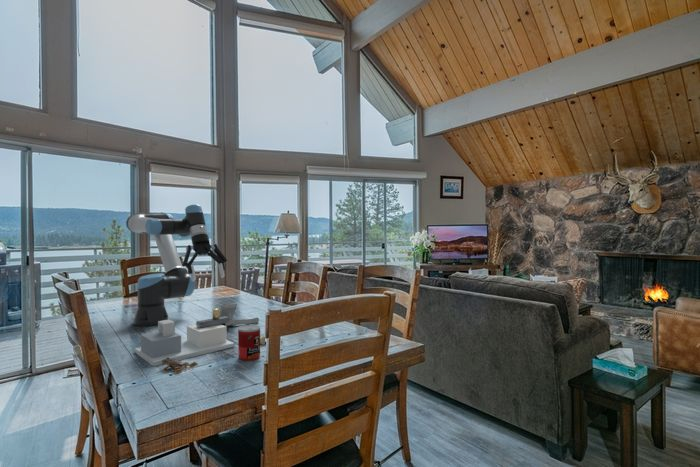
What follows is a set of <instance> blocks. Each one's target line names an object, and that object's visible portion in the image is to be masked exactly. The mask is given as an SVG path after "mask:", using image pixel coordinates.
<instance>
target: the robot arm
mask: <svg viewBox="0 0 700 467" xmlns="http://www.w3.org/2000/svg"><path fill="white" fill-rule="evenodd" d="M184 210H185V211H184V212H185V216H184V218H174V216H173V215H172V214H171V213H168V212H135V213H133V214H131V215H130V216H128V217H127V219H126V222H125V225H126V227H127V229H128V231H130V232H132V233H134V234H140V235H141V234H143V235H147V234H148V235H149V236H150V238H151V239H152V240H155V243H156V244H155V245H156V246H157V249H158V253H159V256H160V259H161V263H162V265H163V268H164V271H165V273H163V272H161V273H160V272H157V273H151V274H147V275H142V276H140V277H139V278H138V279H137V286H136V287H137V309H136V312H135V316H134V318H133V325H134V326H138V327H149V326H150V327H151V326H158V321H163V320H169V314H168V312H167V309H166V306H165V300H168V299H177V298H184V297H190V296H191V295H193V293H194V292H195V287H196V280H197V277H196V272H195V267H194V265H192V264H193V263H194V262H195V260H196V258H197V256H209V257H210V258H212V260H214V261H215V262H216V263H217V266H218V271H219V275H220V279H224V277H226V275H225V274H226V273H225V270H226V268H225V263H226V262H228V260H227V258H226V256H225V255H224V254H223V253H222V251H221V250H220V248H218V245H217V243H214V244H212V245H211V244H210V238H209V232H208V229H207V226H206V220H205V215H204V212H203V209H202V206H201V205H200V204H189V205H188V206H186V207H185V208H184ZM173 235H178V236H179V237H182V238H188V237H191V238H190V239H191V243H192V244H191V245H190V244H188V245H187V246H186V248H185V250H186V252H185V255H184V258H183V261H181V259H180V255H179V252H178V249H177V247H176V243H175V241H174V237H173ZM192 250H193V251H194V254H193V255H192V257H191V258H190V255H191V252H192ZM189 259H190V260H189Z"/></svg>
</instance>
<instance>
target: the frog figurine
mask: <svg viewBox="0 0 700 467" xmlns="http://www.w3.org/2000/svg"><path fill="white" fill-rule="evenodd" d="M162 362H163V363H162V364H161V365H166V366H165V367H163V369H162V370H161V372H162V373H167V372H169V368H171V370H172V372H174V374H184V373H185V371H186V373H189V372H192V371H194V370H195V368H197V367H198V366H199V362H196V361H193V362H187V361H185V362H184V361H183V362H182V361H181V362H180V360H177V359H169V358H166V359H163V360H162Z"/></svg>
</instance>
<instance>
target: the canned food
mask: <svg viewBox="0 0 700 467" xmlns="http://www.w3.org/2000/svg"><path fill="white" fill-rule="evenodd" d="M237 331H238V332H237V335H238V336H237V338H238V339H237V340H238V341H237V342H238V354H237V355H238V358H239V360H241V361H243V362H244V361H245V362H251V361H255V360H257V359H260V356H261V343H260V336H261V327H260V326H259V325H257V324H243V325H240V326H239V327H238V330H237Z"/></svg>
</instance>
